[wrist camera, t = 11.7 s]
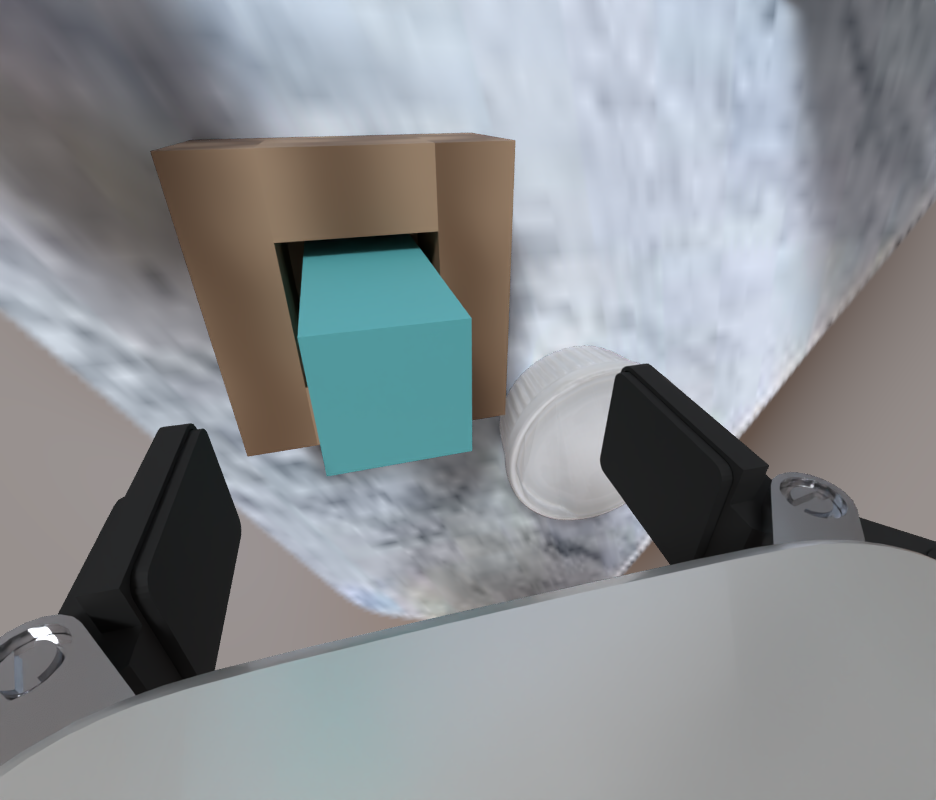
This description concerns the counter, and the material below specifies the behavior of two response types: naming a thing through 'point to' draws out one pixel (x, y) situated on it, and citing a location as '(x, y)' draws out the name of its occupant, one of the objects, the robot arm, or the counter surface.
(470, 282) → the socket block
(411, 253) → the peg
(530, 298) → the counter surface
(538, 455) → the ramekin
